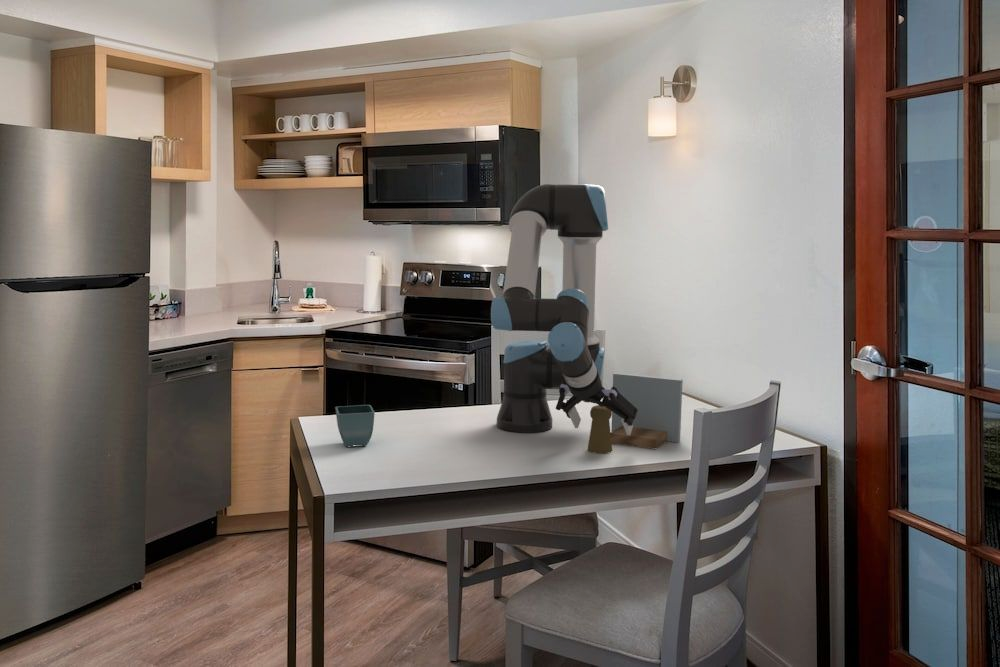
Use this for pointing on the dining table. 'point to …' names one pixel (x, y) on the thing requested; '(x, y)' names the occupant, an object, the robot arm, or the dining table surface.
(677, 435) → the back board
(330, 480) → the dining table surface
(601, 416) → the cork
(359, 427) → the flower pot
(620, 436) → the brown flat block
